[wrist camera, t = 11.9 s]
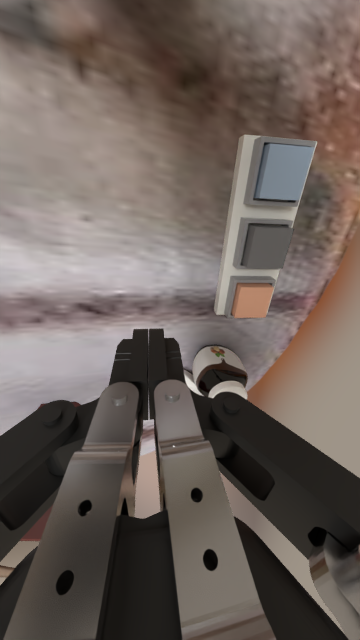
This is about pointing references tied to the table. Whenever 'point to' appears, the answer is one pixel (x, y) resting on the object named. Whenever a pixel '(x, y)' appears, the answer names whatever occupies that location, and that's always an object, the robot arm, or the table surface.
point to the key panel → (250, 219)
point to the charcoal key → (266, 246)
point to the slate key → (282, 171)
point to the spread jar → (217, 372)
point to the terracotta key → (251, 300)
